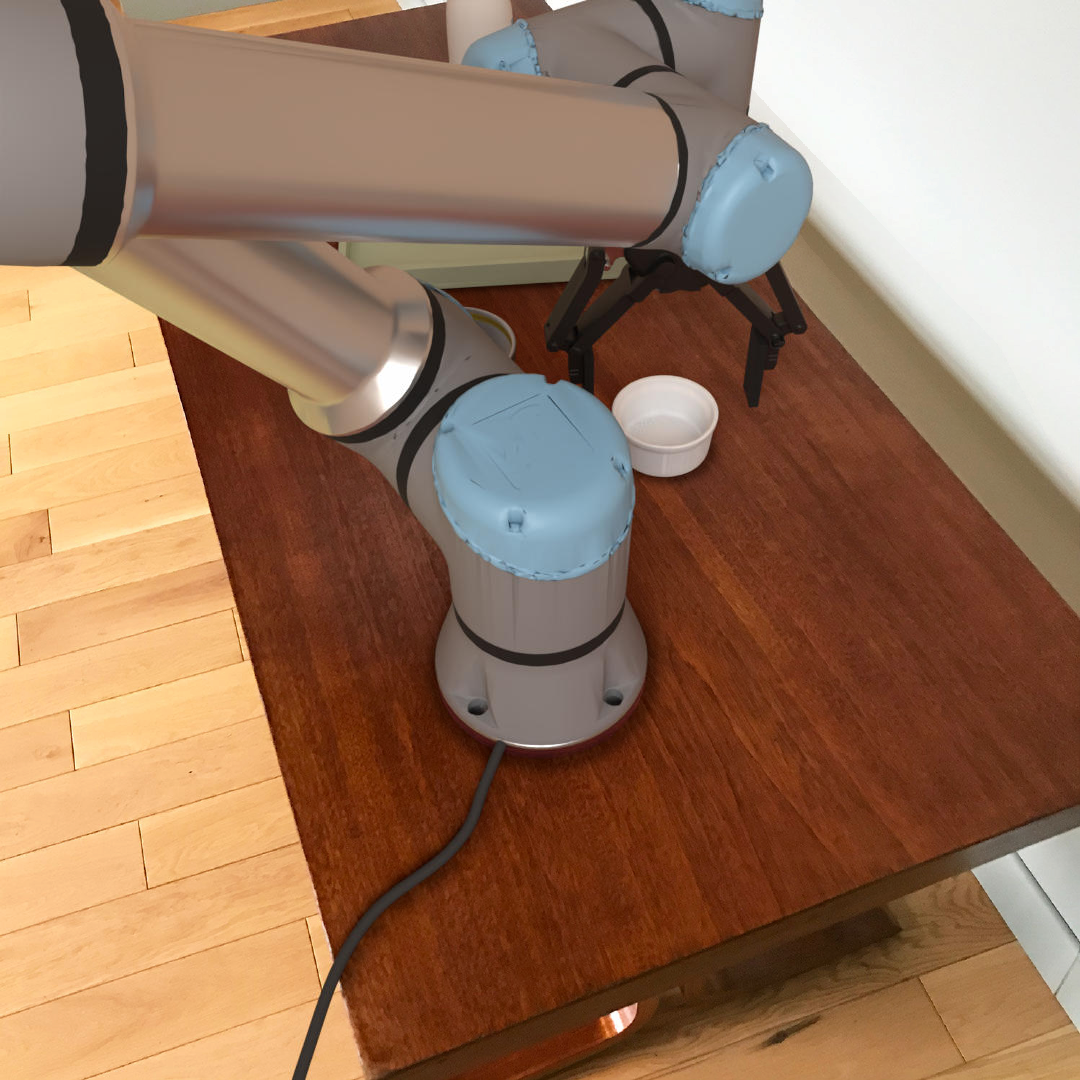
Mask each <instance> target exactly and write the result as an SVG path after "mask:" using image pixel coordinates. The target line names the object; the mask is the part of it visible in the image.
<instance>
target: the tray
mask: <svg viewBox="0 0 1080 1080" xmlns="http://www.w3.org/2000/svg"><path fill="white" fill-rule="evenodd" d="M584 247H585V246H533V245H478V244H423V243H369V242H338V248H337V251H339V252H340V253H342V254H343V255H344V256H346V257H347V258H348V259H350V260H351V261H352V262H354V263H355V264H356V265H358V266H359V267H360V268H366V267H370V266H377V265H385V266H392V267H396V268H398V269H401V270H403V271H405V272H407V273H409V274H410V275H412V276H413V277H415V278H418V279H421V280H424V281H426V282H428V283H430V284H432V285H433V286H435V287H437V288H438V289H441V290H446V289H461V288H463V289H464V288H476V287H477V288H478V287H495V286H496V287H497V286H510V285H511V286H512V285H529V284H545V283H546V284H547V283H548V284H549V283H563V282H569V280H570V278H571V277H572V275H573V273H574V271H575V270H576V268H577V266H578V264H579V263H580V261H581V259H582V257H583V255H584ZM627 263H628V262H627V261H626V260H625V257H619V258H617V259H616V260H615V261H614V263H613V265H612V266H611V269H610V270H609V271H603V276H602V278H601V280H610V279H611V280H612V279H613V280H614V279H615V280H616V279H617V278H618V277H619V276H620V274H621V271H622V269H623V267H624V266H625V265H626V264H627Z"/></svg>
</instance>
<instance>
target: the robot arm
mask: <svg viewBox="0 0 1080 1080" xmlns="http://www.w3.org/2000/svg"><path fill="white" fill-rule="evenodd" d="M764 13H765V8H764V0H582V1H579V2H575V3H572V4H569V5H566V6H562V7H559V8H557V9H554V10H550V11H547V12H544V13H541V14H538V15H533V16H531V17H529V18H518V19H517V20H516V21H515V22H513V25H510V26H508V27H506V28H503V29H501V30H498V31H496V32H494V33H491V34H489V35H487V36H484V37H482V38H480V39H478V40H476V41H475V42H473V43H472V44H471V45H470V46H469V48H468V49H467V50H466V52H465V54H464V57H463V59H462V62H461V65H459V64H452V63H449V62H445V61H437V60H431V59H423V58H416V57H415V58H414V57H411V56H402V55H396V54H389V53H388V54H387V53H381V52H374V51H368V50H360V49H354V48H347V47H339V46H333V45H324V44H319V43H311V42H305V41H297V40H289V39H283V38H275V37H269V36H262V35H256V34H255V35H253V34H247V33H241V32H233V31H226V30H219V29H213V28H207V27H206V28H205V27H198V26H191V25H184V24H177V23H169V22H164V21H156V20H150V19H143V18H136V17H135V18H134V17H127V16H124V15H123V14H122V12H120V10H119V9H118V8H117V7H116V5H114V3H113V2H112V1H111V0H0V266H4V267H5V266H7V267H34V268H39V267H40V268H41V267H43V268H44V267H69V268H71V269H72V270H74V271H77V272H78V273H80V274H81V275H83V276H86V277H87V278H89V279H90V280H93V281H94V282H96V283H98V284H99V285H102V286H103V287H105V288H107V289H109V290H110V291H112V292H114V293H116V294H118V295H119V296H121V297H123V298H125V299H127V300H128V301H130V302H132V303H134V304H135V305H137V306H139V307H140V308H143V309H144V310H146V311H148V312H150V313H151V314H154V315H155V316H157V317H159V318H161V319H163V320H165V321H166V322H168V323H170V324H172V325H174V326H175V327H176V328H179V329H180V330H182V331H184V332H186V333H188V334H189V335H191V336H193V337H195V338H197V339H198V340H200V341H202V342H203V343H205V344H207V345H209V346H211V347H212V348H215V349H217V350H218V351H220V352H222V353H224V354H225V355H227V356H229V357H231V358H232V359H235V360H236V361H238V362H240V363H242V364H244V365H245V366H247V367H249V368H251V369H253V370H254V371H256V372H258V373H260V374H261V375H263V376H265V377H267V378H269V379H270V380H272V381H274V382H276V383H278V384H279V385H281V386H283V387H285V388H287V389H286V390H287V394H288V398H289V402H290V405H291V407H292V410H293V411H294V413H295V414H296V416H297V417H298V418H299V419H300V421H301V422H302V423H303V424H304V425H306V426H307V427H308V428H310V429H311V430H313V431H315V432H316V433H319V434H321V435H322V436H324V437H326V438H328V439H330V440H332V441H335V442H336V443H338V444H340V445H341V446H343V447H345V448H347V449H349V450H351V451H352V452H355V453H357V454H358V455H360V456H361V457H363V458H364V459H366V460H367V461H368V462H369V463H371V464H372V465H373V466H374V467H375V468H376V469H377V470H378V471H379V472H380V473H381V474H382V476H383V477H384V478H385V479H386V481H387V482H388V483H389V484H390V486H391V487H392V488H393V489H394V491H395V492H396V493H397V495H398V496H399V497H400V498H401V500H402V501H403V503H404V504H405V506H407V508H408V509H409V510H410V511H411V513H412V514H413V515H414V517H415V518H416V520H417V521H418V522H419V523H420V524H421V526H422V527H423V528H424V530H425V531H426V532H427V533H428V534H429V536H430V537H431V538H432V539H433V541H434V542H435V543H436V544H437V546H438V548H439V549H440V551H441V553H442V554H443V556H444V559H445V561H446V564H447V568H448V569H447V570H448V577H449V584H450V593H451V599H452V600H451V603H450V606H449V609H448V611H447V614H446V616H445V619H444V621H443V623H442V626H441V628H440V631H439V634H438V638H437V642H436V646H435V651H434V652H435V653H434V669H435V676H436V682H437V685H438V686H437V687H438V691H439V695H440V698H441V700H442V703H443V705H444V707H445V708H446V710H447V712H448V714H449V715H450V716H451V718H452V720H453V721H454V722H455V723H456V724H457V725H458V726H459V728H461V730H462V731H464V732H465V733H466V734H467V735H469V737H471V738H472V739H474V740H475V741H477V742H479V743H480V744H482V745H484V746H486V747H487V748H489V749H492V751H491V753H490V756H489V758H488V759H487V763H486V766H485V768H484V771H483V773H482V775H481V777H480V780H479V782H478V785H477V788H476V790H475V793H474V796H473V799H472V803H471V807H470V808H469V811H468V814H467V817H466V818H465V821H464V823H463V824H462V826H461V827H460V829H459V830H458V832H457V833H456V834H455V836H454V837H453V838H452V839H451V841H450V842H449V843H448V844H447V845H446V846H445V847H443V849H442V850H440V852H438V853H437V854H436V855H435V856H434V857H433V858H431V859H430V860H429V861H428V862H426V863H425V864H423V865H422V866H421V867H420V868H418V869H417V870H415V871H413V872H412V873H411V874H409V875H408V876H407V877H405V878H403V879H402V880H401V881H399V882H398V883H397V884H395V885H394V886H392V887H391V888H390V889H389V890H388V891H386V892H385V893H383V895H382V896H381V897H379V898H378V899H377V901H375V902H374V903H373V904H372V905H371V906H370V907H369V908H368V910H366V911H365V912H364V913H363V915H362V917H361V918H360V919H359V920H358V922H357V923H356V925H355V926H354V927H353V928H352V930H351V932H350V933H349V935H348V936H347V938H346V939H345V940H344V942H343V944H342V946H341V948H340V950H339V951H338V953H337V954H336V957H335V959H334V960H333V963H332V964H331V967H330V969H329V971H328V973H327V975H326V978H325V981H324V983H323V986H322V988H321V991H320V993H319V996H318V999H317V1001H316V1005H315V1007H314V1011H313V1014H312V1017H311V1020H310V1023H309V1025H308V1029H307V1032H306V1035H305V1038H304V1041H303V1043H302V1044H303V1045H302V1047H301V1050H300V1053H299V1055H298V1058H297V1062H296V1064H295V1068H294V1071H293V1074H292V1077H291V1080H306V1079H307V1076H308V1072H309V1070H310V1066H311V1063H312V1060H313V1057H314V1054H315V1052H316V1048H317V1045H318V1042H319V1039H320V1036H321V1033H322V1029H323V1027H324V1023H325V1020H326V1018H327V1015H328V1011H329V1008H330V1005H331V1003H332V1002H331V1001H332V1000H333V998H334V995H335V991H336V988H337V987H338V984H339V981H340V979H341V977H342V975H343V972H344V970H345V969H346V967H347V964H348V962H349V960H350V959H351V957H352V955H353V953H354V952H355V949H356V948H357V947H358V945H359V943H360V941H361V940H362V939H363V937H364V936H365V934H366V933H367V931H368V930H369V929H370V928H371V926H372V925H373V923H374V922H375V921H376V920H377V919H378V918H379V917H380V916H381V915H382V914H383V912H385V911H386V910H387V909H388V908H389V907H390V906H391V905H392V904H393V903H395V902H396V901H397V900H399V898H401V897H402V896H403V895H405V894H406V893H407V892H409V891H410V890H412V889H413V888H414V887H416V886H417V885H419V884H420V883H422V882H423V881H424V880H426V879H428V878H429V877H430V876H431V875H433V874H434V873H435V872H436V871H438V870H439V869H441V868H442V867H443V866H444V865H445V864H446V863H448V862H449V861H450V860H451V859H452V858H453V857H454V856H455V855H456V853H458V851H459V850H460V849H461V848H462V847H463V845H464V844H465V843H466V842H467V840H469V837H470V836H471V835H472V833H473V832H474V831H475V828H476V826H477V824H478V822H479V819H480V817H481V815H482V811H483V808H484V805H485V802H486V799H487V795H488V793H489V789H490V787H491V784H492V782H493V779H494V777H495V775H496V772H497V770H498V767H499V765H500V763H501V760H502V758H503V755H504V754H506V755H510V756H514V757H518V758H524V759H525V758H526V759H536V760H537V759H538V760H539V759H540V760H541V759H542V760H543V759H555V758H562V757H567V756H571V755H574V754H575V755H576V754H578V753H581V752H584V751H586V750H589V749H592V748H593V747H596V746H597V745H599V744H601V743H603V742H604V741H606V740H608V739H609V738H610V737H612V736H613V735H614V734H616V732H618V731H619V730H620V729H621V728H622V727H623V726H624V725H625V724H626V723H627V722H628V720H629V719H630V718H631V716H632V715H633V713H634V712H635V711H636V709H637V707H638V705H639V703H640V701H641V699H642V696H643V692H644V689H645V686H646V679H647V672H648V671H647V670H648V647H647V642H646V637H645V634H644V632H643V629H642V625H641V624H640V622H639V620H638V617H637V615H636V613H635V611H634V609H633V607H632V605H631V603H630V601H629V599H628V597H627V593H626V592H627V586H628V585H627V584H628V572H629V571H628V570H629V561H630V549H631V539H632V538H631V537H632V527H633V526H632V525H633V518H634V509H635V505H636V486H635V478H634V472H633V468H632V460H631V453H630V448H629V445H628V441H627V439H626V436H625V434H624V431H623V429H622V427H621V426H620V424H619V422H618V421H617V419H616V418H615V416H614V415H613V414H612V410H610V409H609V408H608V407H607V406H606V405H605V403H603V402H602V401H601V400H600V399H599V398H597V397H596V396H595V354H594V349H593V346H594V345H595V344H596V343H597V342H598V341H599V340H600V339H601V338H602V337H603V336H604V335H605V334H606V333H607V332H608V331H609V330H610V329H611V328H612V327H613V326H614V325H615V323H617V322H618V321H619V320H620V319H621V318H622V317H623V316H624V315H625V314H626V313H627V312H628V311H629V310H630V309H631V308H632V307H633V306H634V305H635V304H636V303H637V304H641V303H642V302H643V301H644V300H645V299H646V298H647V297H648V296H649V295H650V294H651V293H652V292H653V291H658V294H660V295H661V294H672V293H675V292H679V291H685V292H701V291H702V288H703V287H707V286H708V285H710V287H712V288H713V289H714V291H716V292H717V293H718V295H720V296H721V298H724V297H725V298H726V299H727V300H728V301H729V303H731V304H732V306H734V308H735V309H736V310H738V311H739V313H740V314H741V315H742V316H743V317H744V318H745V319H747V321H748V322H750V323H751V327H750V335H749V341H748V348H747V355H746V360H745V361H746V362H745V370H744V375H743V383H742V387H743V391H744V394H745V398H746V402H747V405H748V408H758V407H759V404H760V398H761V392H762V387H763V380H764V373H765V371H772V370H775V368H776V366H777V365H778V358H779V354H780V349H782V348H783V347H785V345H786V338H785V336H787V335H790V334H792V333H793V334H794V335H798V336H799V335H803V334H804V333H806V332H807V330H808V328H809V327H808V323H807V320H806V318H805V314H804V313H803V309H802V306H801V304H800V302H799V300H798V297H797V296H796V293H795V290H794V289H793V286H792V285H791V282H790V280H789V277H788V276H787V273H786V271H785V269H784V267H783V264H782V262H781V259H782V258H783V257H784V256H785V255H786V254H787V253H788V252H789V250H790V249H791V248H792V247H793V245H794V244H795V242H796V240H797V239H798V237H799V235H800V231H801V229H802V226H803V225H804V222H805V220H806V219H807V218H808V216H809V213H810V211H811V207H812V203H813V197H814V178H813V174H812V171H811V168H810V165H809V164H808V161H807V160H806V158H805V157H804V155H802V154H801V152H800V151H798V150H797V149H796V148H794V147H793V146H792V145H791V144H789V143H788V142H787V141H786V140H784V139H783V138H782V137H781V136H780V135H778V134H777V133H775V131H774V130H773V129H772V128H771V127H770V125H769V124H768V123H766V122H763V121H757V120H755V119H754V118H753V117H750V116H749V112H750V102H751V96H752V90H753V89H752V88H753V81H754V74H755V66H756V60H757V59H756V58H757V51H758V44H759V38H760V29H761V22H762V18H763V17H764ZM339 242H369V243H423V244H478V245H533V246H585V247H584V255H583V257H582V259H581V261H580V263H579V264H578V266H577V268H576V270H575V271H574V273H573V275H572V277H571V278H570V280H569V281H567V284H566V286H565V288H564V289H563V290H562V293H561V294H560V296H559V298H558V300H557V302H556V303H555V305H554V306H553V309H552V310H551V312H550V314H549V316H548V318H546V320H545V323H544V325H543V331H544V341H545V349H546V351H547V352H549V353H555V354H556V353H558V352H560V351H561V352H565V353H566V354H567V372H568V380H569V381H568V380H565V379H560V380H558V381H557V382H556V383H549V382H548V381H547V377H546V375H545V374H540V373H525V371H524V370H523V369H522V368H521V367H520V366H519V365H518V364H517V363H516V361H515V362H514V361H513V360H512V359H511V358H510V357H509V356H508V355H507V354H506V353H505V352H504V351H503V350H502V349H501V348H500V347H499V346H498V345H497V344H496V343H495V342H494V341H493V340H492V339H491V338H490V337H489V336H488V335H487V334H486V333H485V332H484V331H483V330H482V329H481V328H480V327H479V326H478V325H477V324H476V323H475V322H474V321H473V319H472V316H471V315H470V314H469V313H468V312H467V311H466V309H465V308H464V307H465V306H463V305H462V304H461V303H460V302H459V301H458V300H457V299H456V298H454V297H453V296H452V295H451V294H449V293H447V292H446V291H444V290H443V289H438V288H437V287H435V286H433V285H432V284H430V283H428V282H426V281H424V280H421V279H418V278H415V277H413V276H412V275H410V274H409V273H407V272H405V271H403V270H401V269H398V268H396V267H392V266H385V265H377V266H370V267H366V268H360V267H359V266H358V265H356V264H355V263H354V262H352V261H351V260H350V259H348V258H347V257H346V256H344V255H343V254H342V253H340V252H339V251H338V249H336V248H335V247H333V246H332V245H331V244H329V243H339ZM619 257H625V260H626V261H627V262H628V263H627V264H626V265H625V266H624V267H623V269H622V271H621V274H620V276H619V277H618V278H615V280H614V281H613V282H612V283H611V284H610V285H609V286H608V287H607V288H606V289H605V290H604V291H603V292H602V293H601V294H600V295H599V296H598V297H597V298H596V299H595V300H594V301H593V302H592V303H591V304H590V305H589V306H588V304H589V302H590V300H591V299H592V297H593V295H594V293H595V292H596V290H597V288H598V287H599V285H600V283H601V281H602V279H601V278H602V276H603V271H609V270H610V269H611V266H612V265H613V263H614V261H615V260H616V259H617V258H619ZM762 275H765V277H766V279H767V281H768V283H769V285H770V287H771V289H772V292H773V293H774V296H775V298H776V300H777V303H778V304H779V306H780V309H781V311H779V312H776V311H774V310H773V308H772V307H771V306H770V305H769V304H768V303H767V302H766V301H765V300H764V299H763V298H762V297H761V296H760V295H759V294H758V293H757V292H756V291H755V289H753V288H752V287H751V286H750V284H749V283H747V282H749V281H752V280H753V279H756V278H757V277H760V276H762ZM587 306H588V307H587ZM586 307H587V308H586ZM579 385H581V386H579Z"/></svg>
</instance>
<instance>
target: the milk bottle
mask: <svg viewBox="0 0 1080 1080" xmlns="http://www.w3.org/2000/svg"><path fill="white" fill-rule="evenodd" d="M445 3H446V4H445V22H446V24H445V25H446V39H447V52H448V53H447V54H448V63H452V64H459V65H461V62H462V59H463V57H464V54H465V52H466V50H467V49H468V48H469V46H470V45H471V44H472V43H473V42H475V41H476V40H478V39H480V38H482V37H484V36H487V35H489V34H491V33H494V32H496V31H498V30H501V29H503V28H506V27H508V26H510V25H513V24H514V16H513V5H512V1H511V0H446V2H445Z"/></svg>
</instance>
